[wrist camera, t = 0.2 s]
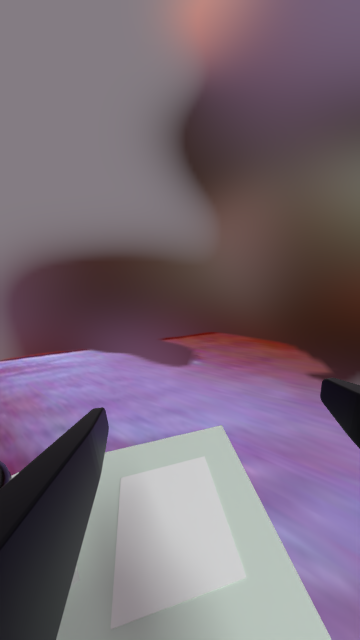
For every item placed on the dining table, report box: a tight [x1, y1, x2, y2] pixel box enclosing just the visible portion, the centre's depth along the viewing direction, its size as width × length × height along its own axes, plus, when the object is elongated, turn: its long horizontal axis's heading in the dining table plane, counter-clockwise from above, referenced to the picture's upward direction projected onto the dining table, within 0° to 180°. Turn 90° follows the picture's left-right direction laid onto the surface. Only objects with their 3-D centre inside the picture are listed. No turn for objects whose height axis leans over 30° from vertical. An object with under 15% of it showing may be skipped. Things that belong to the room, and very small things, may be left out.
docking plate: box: [56, 425, 331, 640], centre depth 17 cm, size 16×16×1 cm
